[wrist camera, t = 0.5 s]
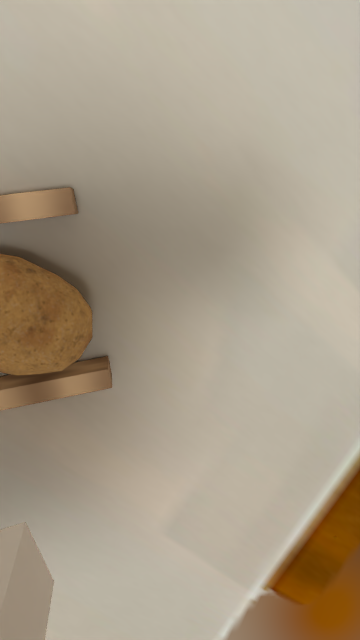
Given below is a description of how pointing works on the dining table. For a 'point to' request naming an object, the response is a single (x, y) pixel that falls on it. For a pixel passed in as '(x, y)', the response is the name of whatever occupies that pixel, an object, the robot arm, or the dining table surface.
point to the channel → (78, 374)
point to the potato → (39, 319)
